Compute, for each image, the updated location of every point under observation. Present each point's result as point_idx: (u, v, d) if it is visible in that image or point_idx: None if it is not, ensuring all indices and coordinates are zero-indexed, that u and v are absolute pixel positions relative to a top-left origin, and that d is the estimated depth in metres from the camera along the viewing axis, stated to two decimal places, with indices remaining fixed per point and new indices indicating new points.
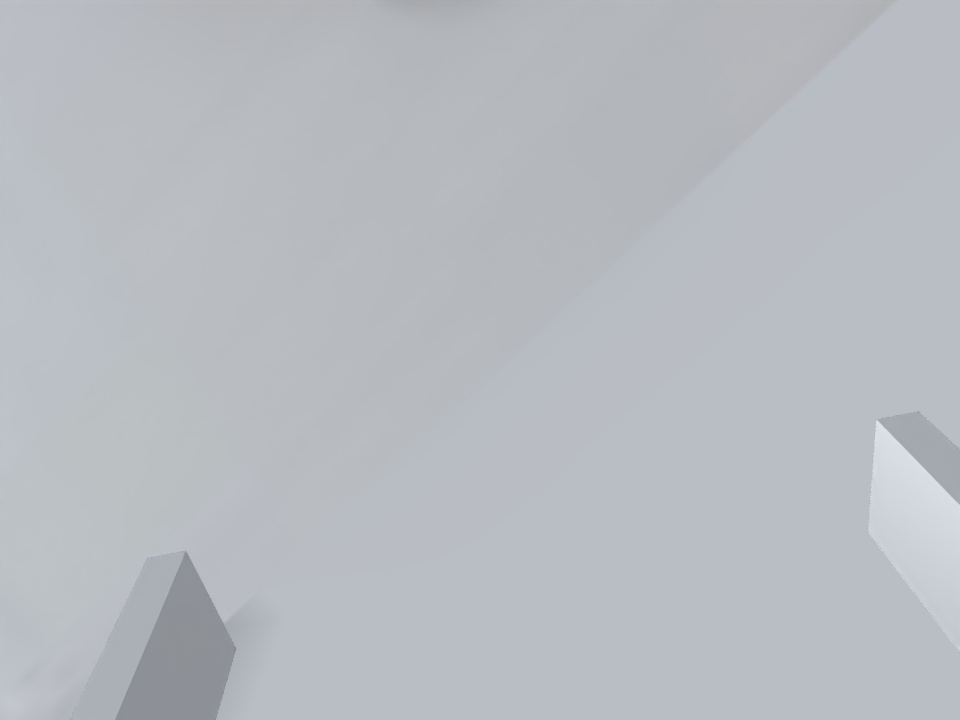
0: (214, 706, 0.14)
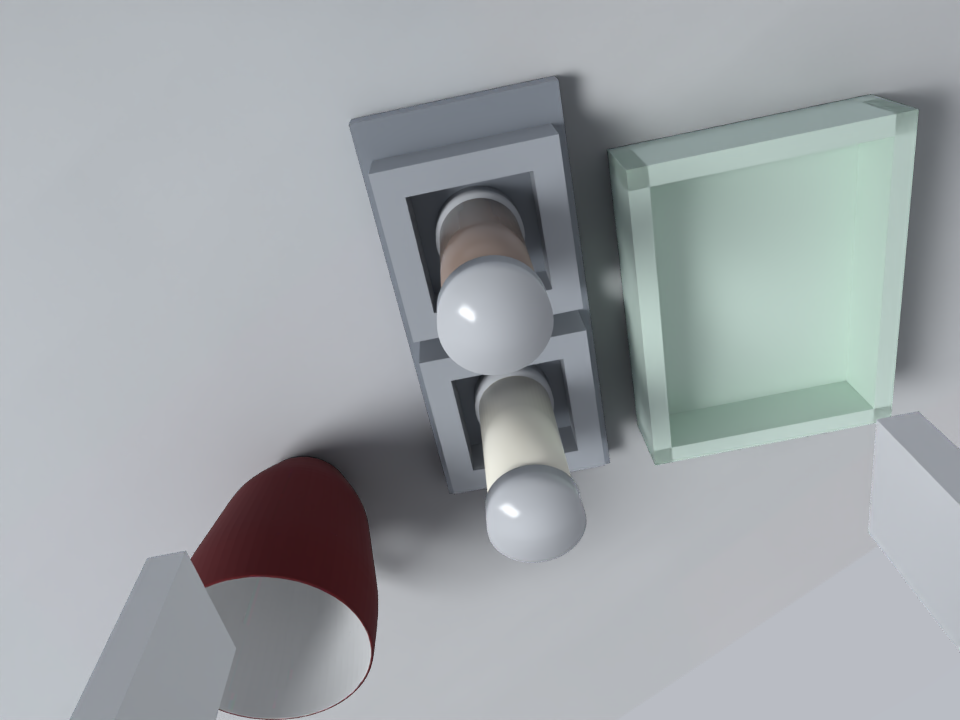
0: (214, 706, 0.14)
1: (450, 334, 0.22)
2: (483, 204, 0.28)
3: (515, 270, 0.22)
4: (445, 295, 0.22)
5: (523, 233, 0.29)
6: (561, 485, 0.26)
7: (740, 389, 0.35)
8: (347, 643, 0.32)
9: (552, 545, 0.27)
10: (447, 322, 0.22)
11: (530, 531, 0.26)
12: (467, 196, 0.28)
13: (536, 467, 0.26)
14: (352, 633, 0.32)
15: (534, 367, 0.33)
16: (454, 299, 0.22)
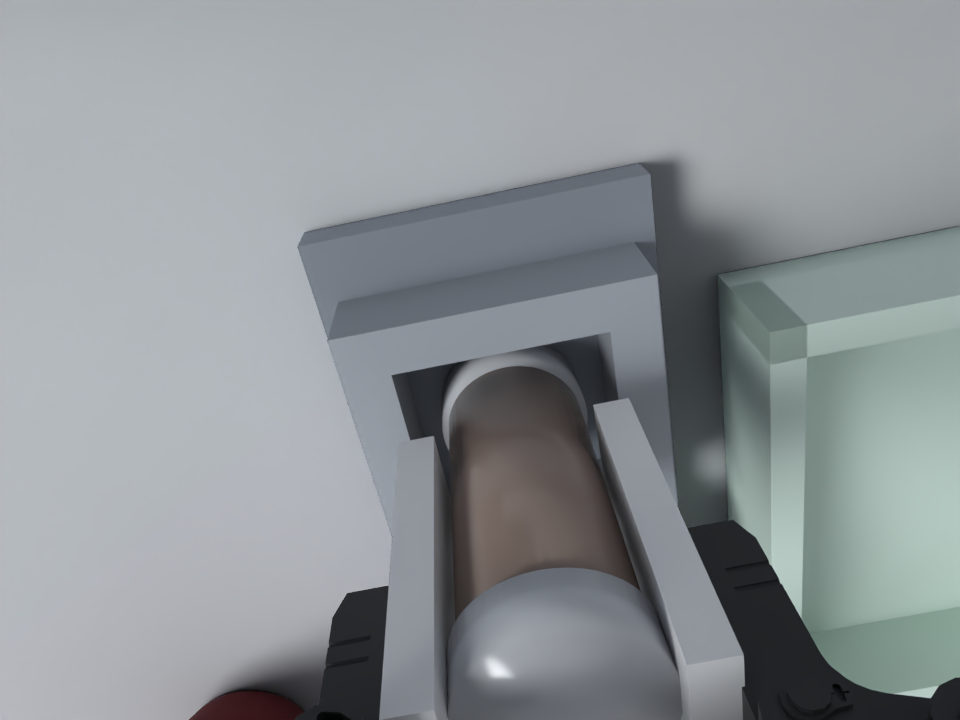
0: None
1: None
2: (524, 383, 0.16)
3: (612, 624, 0.10)
4: (466, 670, 0.10)
5: (585, 417, 0.18)
6: None
7: (892, 604, 0.23)
8: None
9: None
10: (469, 714, 0.11)
11: None
12: (494, 363, 0.17)
13: None
14: None
15: None
16: (484, 680, 0.10)
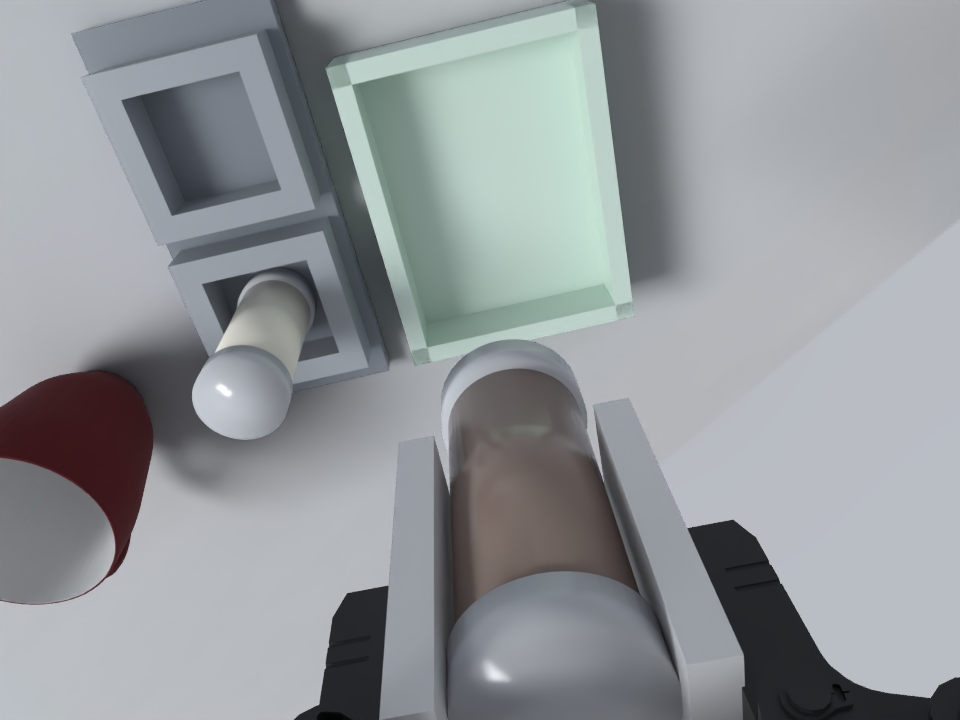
0: None
1: None
2: (523, 386, 0.16)
3: (612, 628, 0.10)
4: (465, 673, 0.10)
5: (585, 419, 0.18)
6: (257, 361, 0.27)
7: (503, 294, 0.36)
8: None
9: (260, 421, 0.28)
10: (468, 718, 0.11)
11: (235, 407, 0.28)
12: (494, 365, 0.17)
13: (239, 347, 0.28)
14: None
15: (294, 274, 0.35)
16: (484, 684, 0.10)
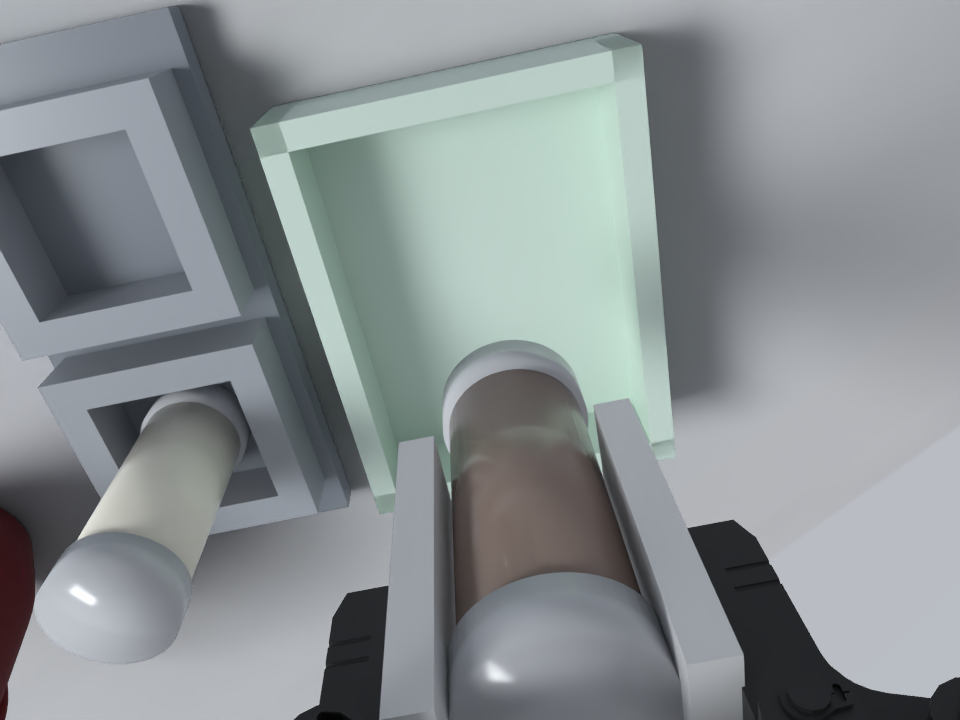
0: None
1: None
2: (524, 386, 0.16)
3: (614, 629, 0.10)
4: (467, 674, 0.10)
5: (586, 419, 0.18)
6: (130, 564, 0.18)
7: None
8: None
9: (140, 642, 0.19)
10: (470, 719, 0.11)
11: (101, 625, 0.19)
12: (495, 366, 0.17)
13: (109, 536, 0.19)
14: None
15: (220, 390, 0.26)
16: (485, 685, 0.10)
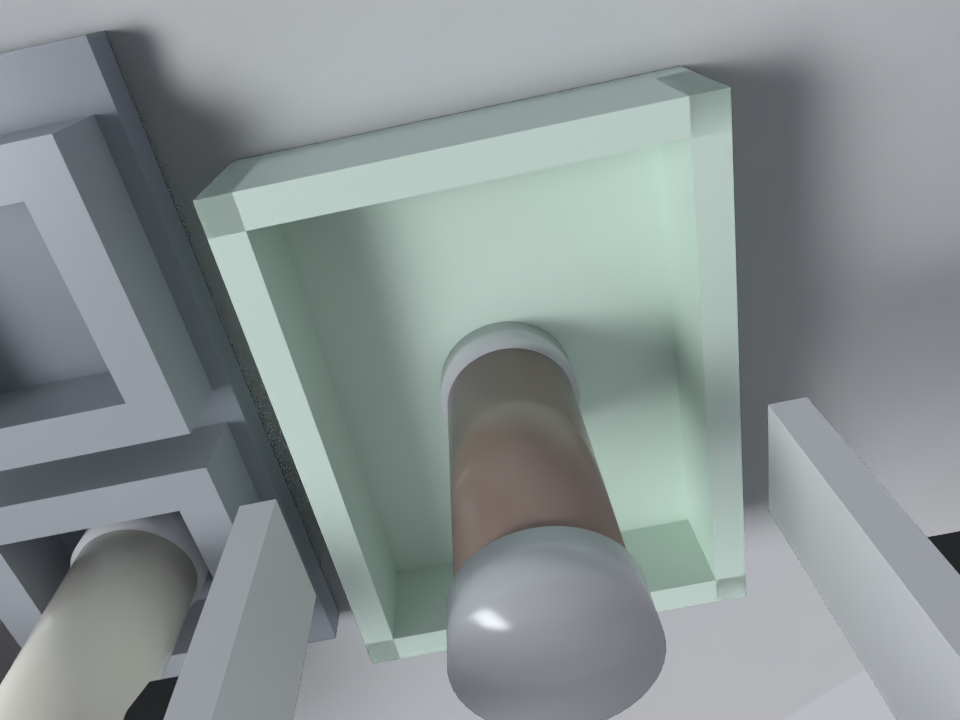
0: (303, 645, 0.15)
1: (471, 677, 0.12)
2: (518, 364, 0.17)
3: (599, 575, 0.11)
4: (463, 618, 0.11)
5: (578, 397, 0.19)
6: None
7: None
8: None
9: None
10: (467, 661, 0.12)
11: None
12: (491, 345, 0.18)
13: None
14: None
15: None
16: (481, 627, 0.11)
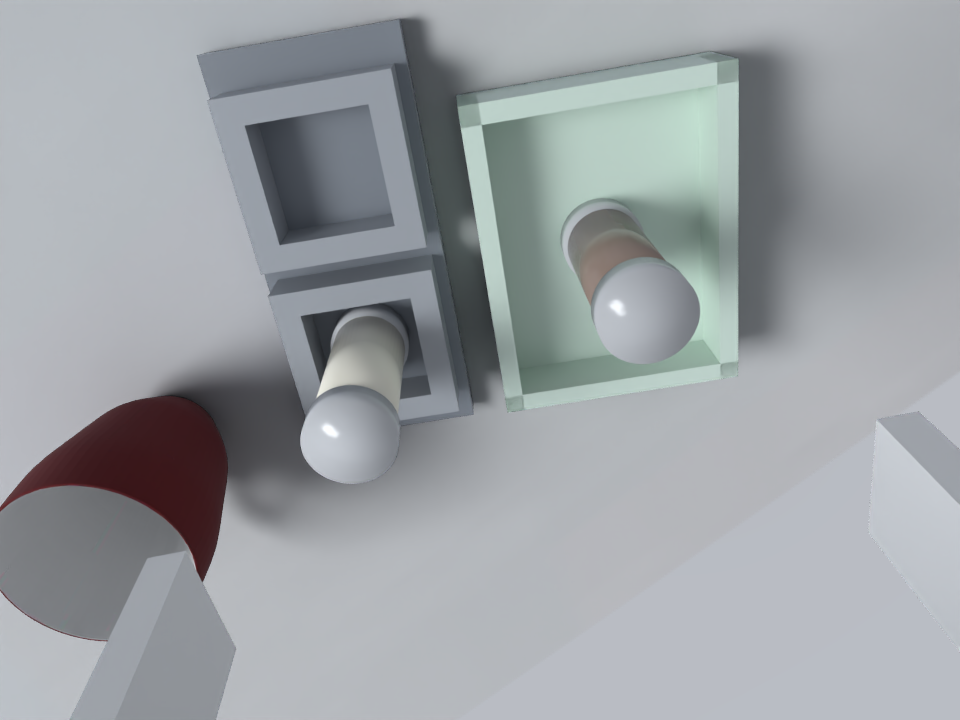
0: (214, 706, 0.14)
1: (607, 325, 0.25)
2: (614, 214, 0.31)
3: (671, 270, 0.24)
4: (607, 290, 0.25)
5: None
6: (372, 403, 0.26)
7: (599, 344, 0.35)
8: None
9: (367, 466, 0.27)
10: (606, 314, 0.25)
11: (344, 450, 0.27)
12: (597, 206, 0.31)
13: (352, 387, 0.27)
14: None
15: (391, 311, 0.34)
16: (616, 294, 0.25)
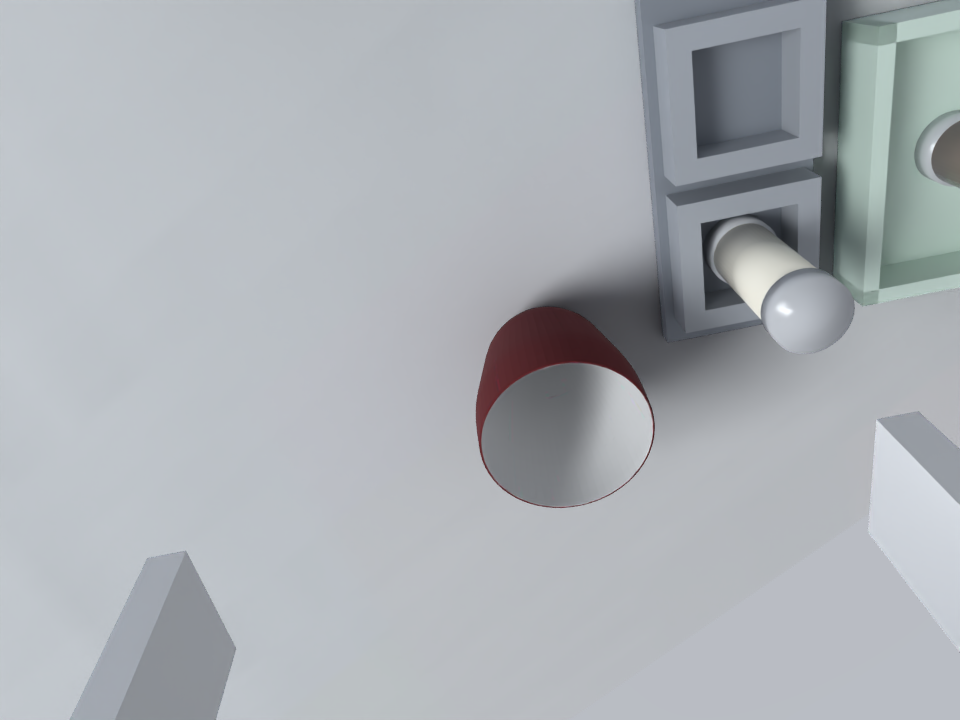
0: (214, 706, 0.14)
1: None
2: None
3: None
4: None
5: None
6: (837, 280, 0.31)
7: (929, 245, 0.40)
8: (606, 452, 0.37)
9: (821, 337, 0.32)
10: None
11: (806, 323, 0.31)
12: None
13: (811, 269, 0.31)
14: (609, 445, 0.37)
15: (761, 220, 0.38)
16: None
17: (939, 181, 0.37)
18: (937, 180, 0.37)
